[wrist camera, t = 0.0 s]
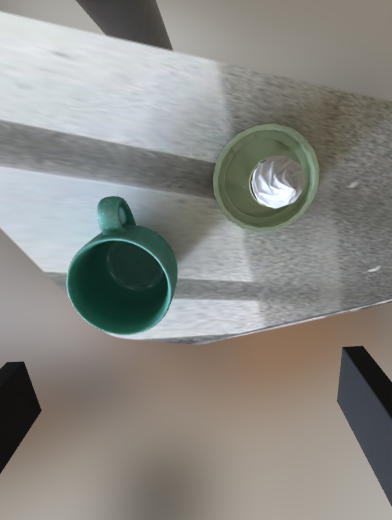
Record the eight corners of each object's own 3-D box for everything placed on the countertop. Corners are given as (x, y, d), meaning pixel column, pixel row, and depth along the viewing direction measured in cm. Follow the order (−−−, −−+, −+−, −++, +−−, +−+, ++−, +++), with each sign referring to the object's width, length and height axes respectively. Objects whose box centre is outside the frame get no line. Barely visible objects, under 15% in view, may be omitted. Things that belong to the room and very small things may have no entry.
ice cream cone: (288, 168, 36) (339, 177, 22) (265, 203, 38) (299, 232, 24) (255, 147, 36) (285, 142, 21) (233, 184, 37) (248, 201, 23)
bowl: (209, 132, 36) (209, 129, 32) (310, 122, 35) (322, 118, 31) (216, 227, 40) (216, 235, 36) (306, 221, 39) (316, 228, 35)
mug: (180, 301, 44) (173, 338, 35) (99, 298, 44) (72, 334, 36) (180, 191, 38) (171, 202, 29) (87, 188, 39) (51, 198, 30)
